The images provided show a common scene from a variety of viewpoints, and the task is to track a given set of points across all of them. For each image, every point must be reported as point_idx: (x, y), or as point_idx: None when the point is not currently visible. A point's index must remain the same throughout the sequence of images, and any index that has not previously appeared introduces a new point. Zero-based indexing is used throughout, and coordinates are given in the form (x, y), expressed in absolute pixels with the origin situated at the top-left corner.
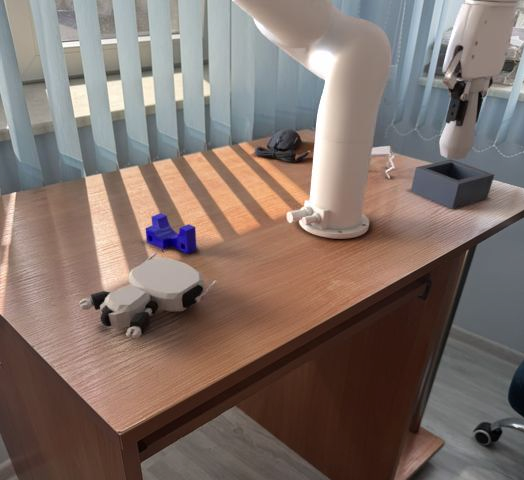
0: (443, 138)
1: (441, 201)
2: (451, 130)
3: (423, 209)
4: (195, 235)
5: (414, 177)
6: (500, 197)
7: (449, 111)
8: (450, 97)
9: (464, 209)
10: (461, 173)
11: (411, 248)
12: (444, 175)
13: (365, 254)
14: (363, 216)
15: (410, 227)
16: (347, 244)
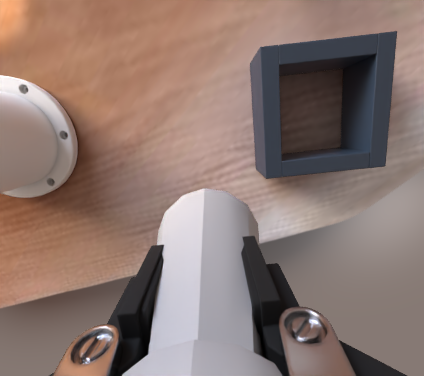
0: (158, 234)
1: (255, 144)
2: None
3: (208, 149)
4: None
5: (255, 57)
6: None
7: (124, 293)
8: (94, 331)
9: (274, 178)
10: (363, 94)
11: (98, 249)
12: (278, 126)
13: (27, 238)
14: (66, 154)
15: (139, 197)
16: (15, 205)
